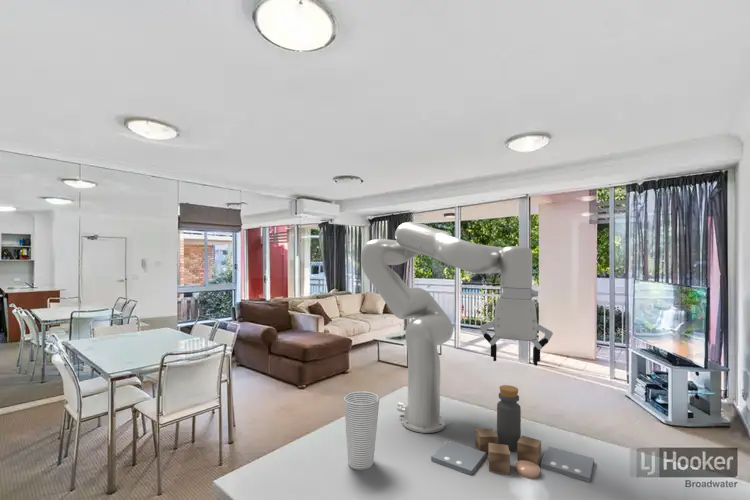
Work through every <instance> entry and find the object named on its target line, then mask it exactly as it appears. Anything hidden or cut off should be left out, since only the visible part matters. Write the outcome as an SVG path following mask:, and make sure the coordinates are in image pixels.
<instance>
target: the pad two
mask: <svg viewBox="0 0 750 500" xmlns="http://www.w3.org/2000/svg"><path fill="white" fill-rule="evenodd" d="M486 457H487V455H486V452H483V451H480V450H478V449H477V448H473V447H470V446H467V445H464V444H460V443H458V442H454V441H451V440H448V441H446V442H445V443H444V444H442V446H441V447H440V448H439V449H438V450H437V451H436V452H435V453H434V454H432V455H431V457H430V461H431V462H433V463H436V464H439V465H442V466H444V467H448V468H450V469H453V470H456V471H458V472H462V473H465V474H467V475H470V476H472V475H473V474H474V473H475V472H476V470H477V469H478V468H479V466H480V465H481V464H482V462H483V461H484V460H485V459H486Z"/></svg>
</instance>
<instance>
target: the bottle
mask: <svg viewBox="0 0 750 500" xmlns="http://www.w3.org/2000/svg"><path fill="white" fill-rule="evenodd" d="M498 387H499V392H498V399H499V400H500V401H498V402H497V404H496V434H497V436H498V444H503V445H508V447H509V452H516V451H517V442H518V441H519V439H520V438H521V436H522V435H521V432H522V431H521V430H522V428H521V427H522V425H521V424H522V423H521V422H522V421H521V420H522V419H521V418H522V417H521V416H522V414H521V413H522V411H521V409H522V408H521V405H520V404H519V403H518V402H519V401H520V395H518V394H519V393H518V392H519V388H518V387H516V386H514V385H506V384H503V385H500V386H498Z"/></svg>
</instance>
